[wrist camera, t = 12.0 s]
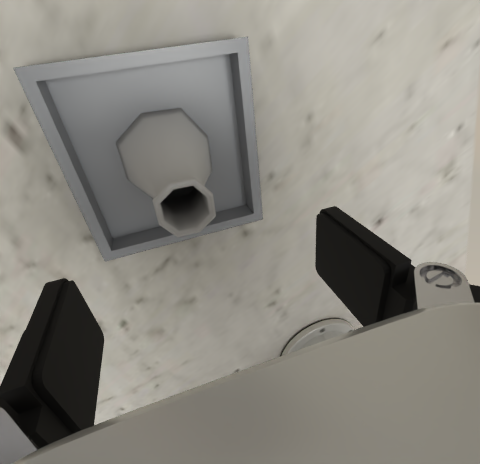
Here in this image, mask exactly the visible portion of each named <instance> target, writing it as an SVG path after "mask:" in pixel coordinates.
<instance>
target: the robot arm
mask: <svg viewBox="0 0 480 464" xmlns="http://www.w3.org/2000/svg"><path fill="white" fill-rule="evenodd" d="M316 270H317V273H318V274H319V276H320V277H321V278H322V279H323V280H324V281H325V282H326V284H327V285H328V286H329V287H330V288H331V289H332V291H333V292H334V293H335V294H336V295H337V296H338V298H339V299H340V300H341V301H342V302H343V303H344V304H345V306H346V307H347V308H348V309H349V310H350V311H351V313H352V314H353V315H354V316H355V317H356V318H357V320H358V321H359V322H360V323H361V324H362V325H363V326H364V327H362V328H359V329H356V330H355V329H354V328H353V327H352V325H351V324H350V323H349V322H347V321H345V320H341V319H329V320H324V321H321V322H318V323H315V324H313V325H311V326H309V327H307V328H306V329H304V330H302V331H301V332H300V333H299V334H297V335H296V336H295V337H294V338H293V339H292V340H291V341H290V342H289V343H288V345H287V346H286V348H285V349H284V351H283V353H282V356H281V357H278V358H275V359H272V360H270V361H267V362H264V363H261V364H259V365H256V366H253V367H250V368H248V369H245V370H242V371H239V372H237V373H234V374H231V375H228V376H226V377H223V378H220V379H217V380H215V381H212V382H209V383H206V384H204V385H201V386H198V387H196V388H193V389H190V390H187V391H185V392H182V393H179V394H177V395H174V396H171V397H168V398H166V399H163V400H160V401H158V402H155V403H152V404H149V405H147V406H144V407H141V408H139V409H136V410H133V411H131V412H128V413H125V414H123V415H120V416H118V417H115V418H112V419H110V420H107V421H105V422H102V423H99V424H97V425H94V419H95V411H96V403H97V395H98V387H99V378H100V370H101V362H102V354H103V346H104V336H103V332H102V330H101V328H100V327H99V325H98V323H97V321H96V319H95V318H94V316H93V314H92V312H91V311H90V309H89V307H88V305H87V303H86V302H85V300H84V298H83V296H82V294H81V293H80V291H79V289H78V287H77V286H76V284H75V282H74V281H68V280H67V279H65V278H63V279H59V280H56V281H52V282H48V283H46V284H45V286H44V288H43V290H42V293H41V295H40V297H39V300H38V302H37V304H36V307H35V309H34V311H33V314H32V316H31V319H30V321H29V323H28V326H27V328H26V330H25V331H24V333H23V335H22V337H21V339H20V342H19V344H18V346H17V349H16V351H15V353H14V356H13V358H12V360H11V363H10V365H9V367H8V370H7V372H6V374H5V377H4V379H3V381H2V384H1V386H0V464H480V286H475V285H470V284H469V283H468V280H467V278H466V277H465V275H464V274H463V273H461V272H460V271H459V270H457V269H455V268H454V267H451V266H449V265H446V264H442V263H437V262H427V263H422V264H420V265H418V266H417V267H414V266H413V265H411V260H410V259H409V258H408V257H406V256H405V255H403V254H402V253H401V252H399V251H398V250H396V249H395V248H394V247H392V246H391V245H389V244H388V243H387V242H385V241H384V240H382V239H381V238H380V237H378V236H377V235H375V234H374V233H373V232H371V231H370V230H368V229H367V228H366V227H364V226H363V225H361V224H360V223H359V222H357V221H356V220H354V219H353V218H352V217H350V216H349V215H347V214H346V213H344V212H343V211H342V210H340V209H339V208H337V207H336V206H334V207H330V208H326V209H322V210H321V211H320V214H318V215H317V220H316Z"/></svg>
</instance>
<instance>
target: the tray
mask: <svg viewBox="0 0 480 464" xmlns="http://www.w3.org/2000/svg"><path fill="white" fill-rule="evenodd" d="M13 69H14V71H15V73H16V75H17V77H18V79H19V81H20V84H21V86H22V88H23V90H24V92H25V94H26V96H27V98H28V100H29V103H30V105H31V107H32V109H33V111H34V113H35V115H36V117H37V119H38V122H39V124H40V126H41V128H42V130H43V132H44V134H45V136H46V138H47V141H48V143H49V145H50V147H51V149H52V151H53V153H54V155H55V157H56V160H57V162H58V164H59V166H60V168H61V170H62V172H63V174H64V177H65V179H66V181H67V183H68V185H69V187H70V189H71V191H72V193H73V196H74V198H75V200H76V202H77V204H78V206H79V208H80V210H81V212H82V215H83V217H84V219H85V221H86V223H87V225H88V227H89V229H90V231H91V234H92V236H93V238H94V240H95V242H96V244H97V246H98V248H99V250H100V253H101V255H102V257H103V259H104V261H109V260H112V259H116V258H120V257H124V256H127V255H131V254H135V253H138V252H142V251H146V250H150V249H153V248H157V247H161V246H165V245H168V244H172V243H176V242H180V241H183V240H187V239H191V238H195V237H198V236H202V235H206V234H209V233H213V232H217V231H221V230H224V229H228V228H232V227H236V226H239V225H243V224H247V223H251V222H254V221H258V220H262V219H263V214H262V202H261V190H260V178H259V165H258V153H257V141H256V129H255V117H254V105H253V92H252V80H251V68H250V56H249V44H248V37H241V38H234V39H226V40H219V41H211V42H204V43H196V44H189V45H181V46H174V47H166V48H159V49H151V50H144V51H136V52H129V53H121V54H113V55H106V56H98V57H91V58H83V59H76V60H68V61H61V62H53V63H46V64H38V65H31V66H23V67H16V68H13ZM175 108H181V109H182V110H183V111H184V112H185V113H186V114H187V115H188V116H189V117H190V118H191V119H192V120H193V121H194V122H195V123H196V124H197V125H198V126H199V127H200V128H201V129H202V130H203V131H204V132H205V133H206V134H207V135H208V142H209V149H210V156H211V163H212V172H211V174H210V176H209V177H208V179H207V181H206V183H205V187H206V188H207V189H208V190H209V191H210V192H211V193H212V194H213V198H214V205H215V212H216V217H215V218H214V219H213V220H212V221H211V222H210V223H209V224H208V225H207V226H206V227H205V228H204V229H203V230H202V231H201V232H198V233H194V234H190V235H185V236H181V237H176V236H175V235H173V234H172V233H170V232H169V231H167V230H166V229H165V228H163V227H162V226H160V225H159V223H158V219H157V216H156V212H155V208H154V205H153V198H152V197H150V196H149V195H148V194H146V193H145V192H144V191H142V190H141V189H140V188H138V187H137V186H136V185H134V184H133V183H132V182H130V181H129V180H128V179H127V178H126V174H125V171H124V168H123V165H122V162H121V158H120V155H119V152H118V149H117V145H116V141H117V140H118V139H119V138H120V137H121V136H122V135H123V133H124V132H125V131H126V130H127V129H128V128H129V127H130V125H131V124H132V123H133V122H134V121H135V120H136V119H137V118H138V116H139V115H140V114H141V113H147V112H154V111H161V110H168V109H175Z"/></svg>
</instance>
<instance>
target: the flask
mask: <svg viewBox="0 0 480 464" xmlns="http://www.w3.org/2000/svg"><path fill="white" fill-rule="evenodd" d="M116 145H117V149H118V152H119V155H120V158H121V162H122V165H123V168H124V171H125V174H126V178H127V179H128V180H129V181H130V182H132V183H133V184H134V185H136V186H137V187H138V188H140V189H141V190H142V191H144V192H145V193H146V194H148V195H149V196H150V197H152V198H153V205H154V208H155V212H156V216H157V219H158V223H159V225H160V226H162V227H163V228H165V229H166V230H167V231H169V232H170V233H172V234H173V235H175V236H176V237H181V236H185V235H190V234H194V233H198V232H201V231H202V230H203V229H204V228H205V227H206V226H207V225H208V224H209V223H210V222H211V221H212V220H213V219H214V218H215V217H216V212H215V205H214V198H213V194H212V193H211V192H210V191H209V190H208V189H207V188H206V187H205V183H206V181H207V179H208V177H209V176H210V174H211V172H212V163H211V156H210V149H209V142H208V135H207V134H206V133H205V132H204V131H203V130H202V129H201V128H200V127H199V126H198V125H197V124H196V123H195V122H194V121H193V120H192V119H191V118H190V117H189V116H188V115H187V114H186V113H185V112H184V111H183V110H182V109H181V108H175V109H168V110H161V111H154V112H147V113H141V114H140V115H139V116H138V118H137V119H136V120H135V121H134V122H133V123H132V124H131V125H130V127H129V128H128V129H127V130H126V131H125V132H124V133H123V135H122V136H121V137H120V138H119V139H118V140H117V141H116Z"/></svg>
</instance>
